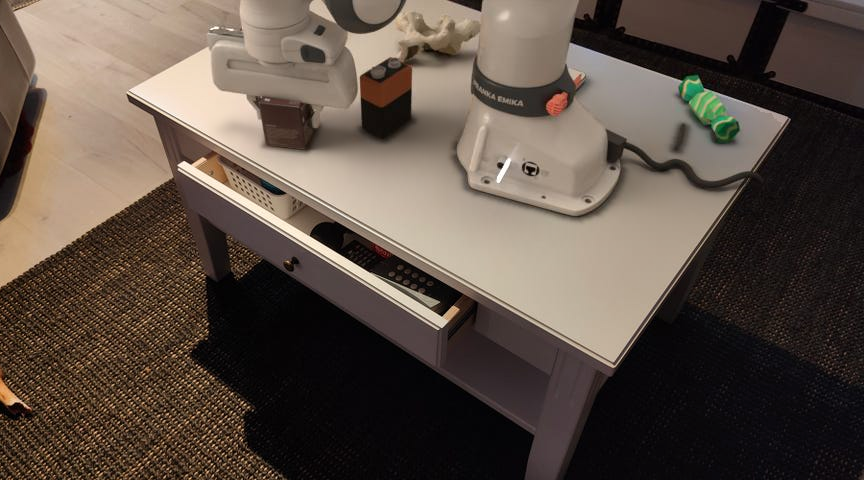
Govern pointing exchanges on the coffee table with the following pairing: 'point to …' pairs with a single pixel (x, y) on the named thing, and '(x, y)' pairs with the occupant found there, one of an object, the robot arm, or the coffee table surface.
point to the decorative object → (433, 34)
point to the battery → (386, 97)
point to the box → (285, 122)
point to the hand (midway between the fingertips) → (289, 121)
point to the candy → (708, 109)
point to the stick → (680, 136)
